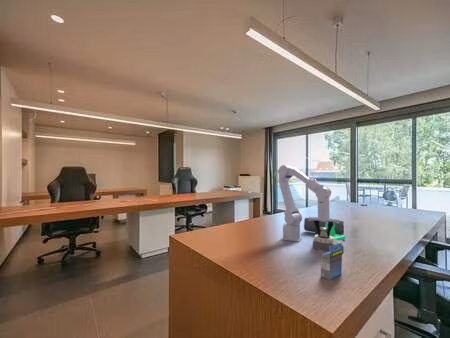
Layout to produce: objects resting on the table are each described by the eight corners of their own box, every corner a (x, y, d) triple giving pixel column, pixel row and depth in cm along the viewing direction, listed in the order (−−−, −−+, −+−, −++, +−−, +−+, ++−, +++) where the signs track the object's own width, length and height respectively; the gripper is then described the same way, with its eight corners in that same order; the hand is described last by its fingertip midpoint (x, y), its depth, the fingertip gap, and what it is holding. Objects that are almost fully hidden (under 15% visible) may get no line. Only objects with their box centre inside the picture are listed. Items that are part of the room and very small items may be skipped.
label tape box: (332, 270, 89) (332, 239, 90) (342, 274, 86) (342, 242, 86) (320, 276, 84) (319, 243, 84) (330, 280, 81) (330, 246, 81)
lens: (318, 239, 117) (318, 228, 117) (320, 238, 120) (320, 226, 120) (327, 241, 114) (327, 229, 115) (328, 239, 118) (328, 227, 118)
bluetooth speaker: (344, 234, 141) (343, 219, 142) (343, 238, 133) (343, 221, 133) (306, 230, 152) (306, 215, 153) (303, 233, 144) (303, 218, 145)
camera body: (312, 248, 116) (312, 237, 116) (314, 243, 124) (314, 233, 124) (343, 252, 109) (343, 241, 110) (343, 247, 117) (343, 236, 118)
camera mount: (333, 244, 124) (333, 225, 124) (321, 240, 130) (321, 222, 130) (346, 240, 130) (345, 222, 130) (333, 237, 136) (333, 220, 137)
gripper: (308, 210, 118) (308, 235, 118) (338, 212, 111) (339, 239, 111) (309, 208, 124) (310, 232, 124) (339, 210, 117) (339, 236, 117)
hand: (323, 235), depth 118 cm, fingers closed on lens, 4 cm apart
